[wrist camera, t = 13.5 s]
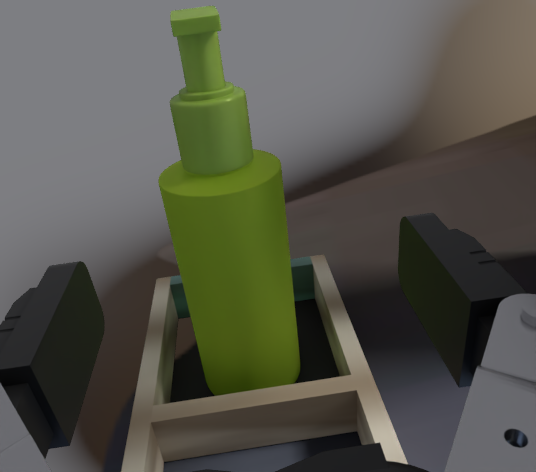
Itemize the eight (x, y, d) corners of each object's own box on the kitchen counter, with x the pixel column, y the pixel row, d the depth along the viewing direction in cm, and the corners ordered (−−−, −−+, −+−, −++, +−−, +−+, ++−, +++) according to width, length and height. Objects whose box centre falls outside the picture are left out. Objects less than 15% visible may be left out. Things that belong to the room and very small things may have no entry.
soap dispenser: (286, 318, 33) (251, -3, 23) (310, 395, 27) (276, 4, 17) (202, 334, 32) (129, 13, 22) (207, 416, 26) (110, 25, 16)
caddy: (165, 312, 35) (156, 278, 33) (325, 288, 35) (323, 254, 34) (94, 818, 14) (62, 789, 12) (491, 744, 14) (505, 707, 13)
